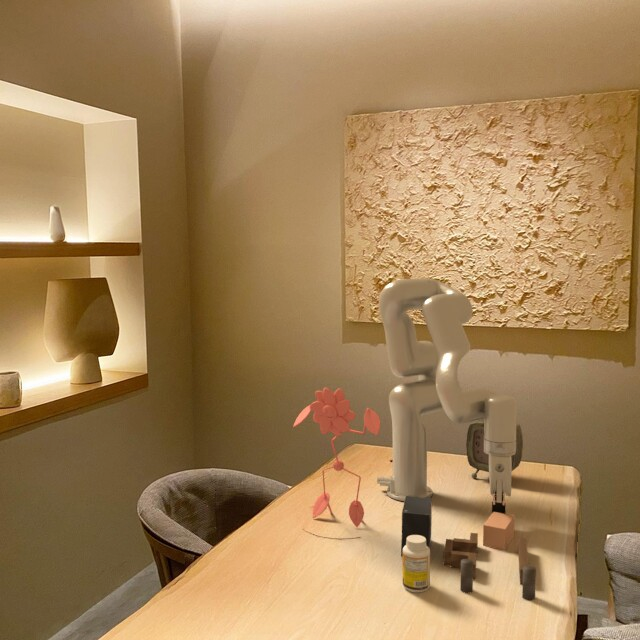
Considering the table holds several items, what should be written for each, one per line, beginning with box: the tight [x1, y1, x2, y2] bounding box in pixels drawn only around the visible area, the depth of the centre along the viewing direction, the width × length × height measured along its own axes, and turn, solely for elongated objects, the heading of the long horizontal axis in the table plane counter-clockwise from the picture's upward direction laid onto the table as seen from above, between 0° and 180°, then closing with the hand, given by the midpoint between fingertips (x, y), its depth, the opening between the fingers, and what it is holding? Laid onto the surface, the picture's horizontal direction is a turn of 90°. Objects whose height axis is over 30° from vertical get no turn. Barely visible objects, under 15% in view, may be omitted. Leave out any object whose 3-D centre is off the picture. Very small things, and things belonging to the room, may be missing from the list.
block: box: [482, 512, 515, 551], centre depth 161 cm, size 5×9×5 cm, turn 152°
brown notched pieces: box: [443, 532, 537, 601], centre depth 146 cm, size 18×22×6 cm
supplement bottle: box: [402, 535, 431, 593], centre depth 139 cm, size 6×6×10 cm
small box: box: [400, 496, 433, 557], centre depth 157 cm, size 11×6×10 cm, turn 168°
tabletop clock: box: [465, 419, 524, 486], centre depth 202 cm, size 14×9×25 cm, turn 55°
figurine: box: [292, 387, 382, 541], centre depth 169 cm, size 15×26×35 cm, turn 56°
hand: (498, 518), depth 168 cm, fingers closed
